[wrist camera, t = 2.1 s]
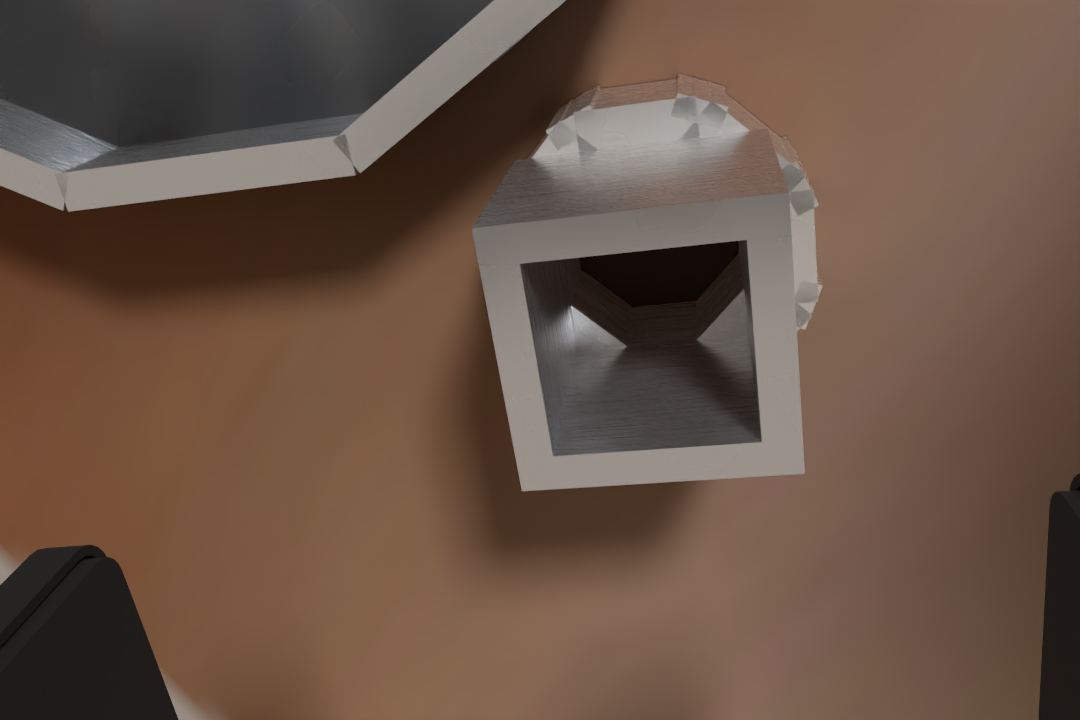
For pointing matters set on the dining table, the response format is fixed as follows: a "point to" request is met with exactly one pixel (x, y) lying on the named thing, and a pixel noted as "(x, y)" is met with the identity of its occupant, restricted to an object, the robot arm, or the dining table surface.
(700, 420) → the grey hollow boxy piece
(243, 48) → the tray
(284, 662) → the dining table surface
